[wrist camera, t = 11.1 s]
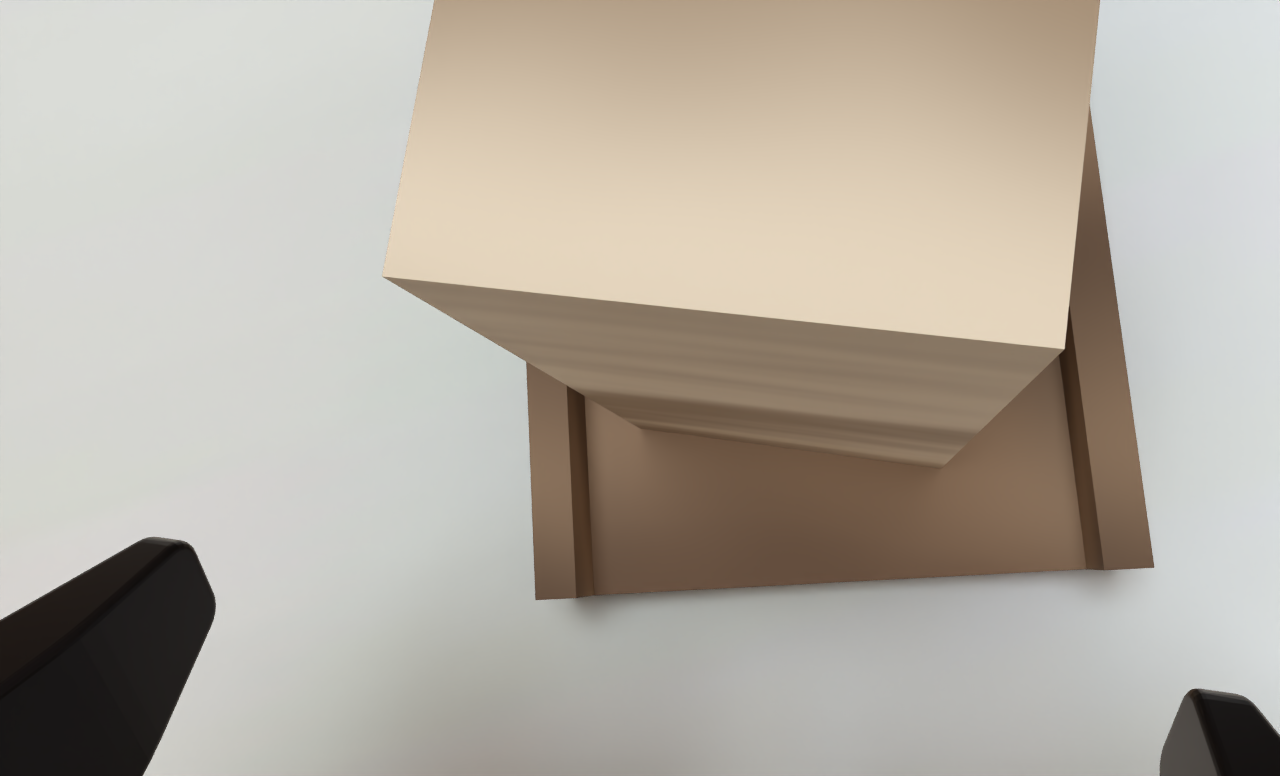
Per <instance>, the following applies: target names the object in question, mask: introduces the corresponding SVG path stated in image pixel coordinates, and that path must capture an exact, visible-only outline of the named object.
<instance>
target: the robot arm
mask: <svg viewBox="0 0 1280 776" xmlns="http://www.w3.org/2000/svg"><path fill="white" fill-rule="evenodd" d="M215 609H216V602H215V596H214V593H213V591H212V589H211V586H210V584H209V582H208V579H207V577H206V575H205V572H204V570H203V568H202V566H201V563H200V561H199V559H198V556H197V554H196V552H195V550H194V548H193V547H192V546H191V545H190V544H188V543H187V542H185V541H181V540H174V539H167V538H161V537H149V538H145V539H142V540H140V541H138V542H136V543H135V544H133V545H131V546H129V547H128V548H126V549H124V550H122V551H121V552H119V553H117V554H115V555H113V556H112V557H110V558H108V559H106V560H105V561H103V562H101V563H99V564H98V565H96V566H94V567H92V568H91V569H89V570H87V571H85V572H84V573H82V574H80V575H78V576H77V577H75V578H73V579H71V580H70V581H68V582H66V583H64V584H63V585H61V586H59V587H57V588H56V589H54V590H52V591H50V592H49V593H47V594H45V595H43V596H42V597H40V598H38V599H36V600H35V601H33V602H31V603H29V604H28V605H26V606H24V607H22V608H21V609H19V610H17V611H15V612H14V613H12V614H10V615H8V616H7V617H5V618H3V619H1V620H0V776H143V774H144V772H145V770H146V769H147V767H148V765H149V763H150V761H151V759H152V757H153V755H154V753H155V750H156V748H157V746H158V744H159V742H160V740H161V738H162V736H163V733H164V731H165V729H166V727H167V724H168V722H169V720H170V718H171V715H172V713H173V711H174V709H175V706H176V704H177V702H178V700H179V697H180V695H181V693H182V691H183V688H184V686H185V684H186V682H187V679H188V677H189V675H190V673H191V670H192V668H193V666H194V664H195V661H196V659H197V657H198V655H199V652H200V650H201V648H202V645H203V643H204V641H205V639H206V636H207V634H208V632H209V630H210V627H211V625H212V622H213V620H214V615H215ZM1160 776H1280V735H1279V734H1278V733H1277V731H1276V730H1275V729H1274V728H1273V726H1272V725H1271V724H1270V723H1269V721H1268V720H1267V719H1266V718H1265V716H1264V715H1263V714H1262V713H1261V712H1260V710H1259V709H1258V708H1257V707H1256V706H1255V704H1254V703H1252V702H1251V701H1250V700H1249V699H1247V698H1246V697H1244V696H1241V695H1238V694H1233V693H1226V692H1219V691H1212V690H1205V689H1192V690H1190V691H1189V692H1188V693H1187V694H1186V695H1185V696H1184V698H1183V700H1182V702H1181V705H1180V707H1179V710H1178V712H1177V715H1176V717H1175V719H1174V722H1173V724H1172V727H1171V729H1170V732H1169V734H1168V737H1167V739H1166V741H1165V744H1164V747H1163V750H1162V754H1161V760H1160Z"/></svg>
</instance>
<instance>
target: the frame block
mask: <svg viewBox="0 0 1280 776" xmlns="http://www.w3.org/2000/svg"><path fill="white" fill-rule="evenodd" d="M1099 5H1100V0H434V5H433V10H432V16H431V21H430V26H429V31H428V37H427V42H426V47H425V52H424V58H423V63H422V68H421V74H420V79H419V84H418V89H417V95H416V100H415V105H414V111H413V116H412V121H411V126H410V132H409V137H408V142H407V147H406V153H405V158H404V163H403V169H402V174H401V179H400V184H399V190H398V195H397V200H396V206H395V211H394V216H393V221H392V227H391V232H390V237H389V243H388V248H387V253H386V258H385V264H384V269H383V274H382V277H384V278H386V279H387V280H389V281H391V282H392V283H394V284H396V285H398V286H399V287H401V288H403V289H404V290H406V291H408V292H409V293H411V294H413V295H414V296H416V297H418V298H420V299H421V300H423V301H425V302H426V303H428V304H430V305H431V306H433V307H435V308H437V309H438V310H440V311H442V312H443V313H445V314H447V315H448V316H450V317H452V318H453V319H455V320H457V321H459V322H460V323H462V324H464V325H465V326H467V327H469V328H470V329H472V330H474V331H476V332H477V333H479V334H481V335H482V336H484V337H486V338H487V339H489V340H491V341H492V342H494V343H496V344H498V345H499V346H501V347H503V348H504V349H506V350H508V351H509V352H511V353H513V354H514V355H516V356H518V357H520V358H521V359H523V360H525V361H526V362H528V363H530V364H531V365H533V366H535V367H537V368H538V369H540V370H542V371H543V372H545V373H547V374H548V375H550V376H552V377H553V378H555V379H557V380H559V381H560V382H562V383H564V384H565V385H567V386H569V387H570V388H572V389H574V390H576V391H577V392H579V393H581V394H582V395H584V396H586V397H587V398H589V399H591V400H592V401H594V402H596V403H598V404H599V405H601V406H603V407H604V408H606V409H608V410H609V411H611V412H613V413H615V414H616V415H618V416H620V417H621V418H623V419H625V420H626V421H628V422H630V423H631V424H633V425H635V426H637V427H638V428H640V429H648V430H655V431H663V432H670V433H678V434H685V435H692V436H700V437H707V438H715V439H722V440H730V441H737V442H745V443H752V444H760V445H767V446H775V447H782V448H789V449H797V450H804V451H812V452H819V453H827V454H834V455H842V456H849V457H857V458H864V459H871V460H879V461H886V462H894V463H901V464H909V465H916V466H924V467H931V468H939V469H941V468H942V467H943V466H944V465H945V464H946V463H947V462H949V461H950V460H951V459H952V458H953V457H954V456H955V455H956V454H957V453H958V452H959V451H960V450H961V449H962V448H963V447H964V446H965V445H966V444H967V443H968V442H969V441H970V440H971V439H972V438H973V437H974V436H975V435H976V434H977V433H978V432H980V431H981V430H982V429H983V428H984V427H985V426H986V425H987V424H988V423H989V422H990V421H991V420H992V419H993V418H994V417H995V416H996V415H997V414H998V413H999V412H1000V411H1001V410H1002V409H1003V408H1004V407H1005V406H1006V405H1007V404H1008V403H1009V402H1010V401H1012V400H1013V399H1014V398H1015V397H1016V396H1017V395H1018V394H1019V393H1020V392H1021V391H1022V390H1023V389H1024V388H1025V387H1026V386H1027V385H1028V384H1029V383H1030V382H1031V381H1032V380H1033V379H1034V378H1035V377H1036V376H1037V375H1038V374H1039V373H1040V372H1041V371H1043V370H1044V369H1045V368H1046V367H1047V366H1048V365H1049V364H1050V363H1051V362H1052V361H1053V360H1054V359H1055V358H1056V357H1057V356H1058V355H1059V354H1060V353H1061V352H1062V351H1063V350H1064V349H1065V339H1066V330H1067V320H1068V310H1069V300H1070V290H1071V280H1072V271H1073V261H1074V251H1075V241H1076V231H1077V221H1078V212H1079V202H1080V192H1081V182H1082V172H1083V162H1084V153H1085V143H1086V133H1087V123H1088V113H1089V104H1090V94H1091V84H1092V74H1093V64H1094V54H1095V45H1096V35H1097V25H1098V15H1099Z"/></svg>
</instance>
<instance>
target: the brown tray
mask: <svg viewBox="0 0 1280 776" xmlns="http://www.w3.org/2000/svg"><path fill="white" fill-rule="evenodd" d="M526 365H527V390H528V416H529V442H530V468H531V494H532V519H533V545H534V571H535V597H536V600H546V599H565V598H579V597H585V596H592V595H605V594H624V593H643V592H662V591H681V590H700V589H719V588H738V587H756V586H775V585H794V584H813V583H832V582H851V581H870V580H889V579H908V578H927V577H946V576H965V575H984V574H1003V573H1021V572H1040V571H1059V570H1078V569H1094V570H1118V569H1137V568H1154V562H1153V555H1152V548H1151V541H1150V533H1149V526H1148V519H1147V512H1146V505H1145V498H1144V490H1143V483H1142V476H1141V469H1140V462H1139V455H1138V448H1137V440H1136V433H1135V426H1134V419H1133V412H1132V405H1131V397H1130V390H1129V383H1128V376H1127V369H1126V362H1125V355H1124V347H1123V340H1122V333H1121V326H1120V319H1119V312H1118V304H1117V297H1116V290H1115V283H1114V276H1113V269H1112V262H1111V254H1110V247H1109V240H1108V233H1107V226H1106V219H1105V212H1104V204H1103V197H1102V190H1101V183H1100V176H1099V169H1098V161H1097V154H1096V147H1095V140H1094V133H1093V126H1092V119H1091V111H1090V104H1089V113H1088V123H1087V133H1086V143H1085V153H1084V162H1083V172H1082V182H1081V192H1080V202H1079V212H1078V221H1077V231H1076V241H1075V251H1074V261H1073V271H1072V280H1071V290H1070V300H1069V310H1068V320H1067V330H1066V339H1065V349H1064V350H1063V351H1062V352H1061V353H1060V354H1059V355H1058V356H1057V357H1056V358H1055V359H1054V360H1053V361H1052V362H1051V363H1050V364H1049V365H1048V366H1047V367H1046V368H1045V369H1044V370H1043V371H1041V372H1040V373H1039V374H1038V375H1037V376H1036V377H1035V378H1034V379H1033V380H1032V381H1031V382H1030V383H1029V384H1028V385H1027V386H1026V387H1025V388H1024V389H1023V390H1022V391H1021V392H1020V393H1019V394H1018V395H1017V396H1016V397H1015V398H1014V399H1013V400H1012V401H1010V402H1009V403H1008V404H1007V405H1006V406H1005V407H1004V408H1003V409H1002V410H1001V411H1000V412H999V413H998V414H997V415H996V416H995V417H994V418H993V419H992V420H991V421H990V422H989V423H988V424H987V425H986V426H985V427H984V428H983V429H982V430H981V431H980V432H978V433H977V434H976V435H975V436H974V437H973V438H972V439H971V440H970V441H969V442H968V443H967V444H966V445H965V446H964V447H963V448H962V449H961V450H960V451H959V452H958V453H957V454H956V455H955V456H954V457H953V458H952V459H951V460H950V461H949V462H947V463H946V464H945V465H944V466H943V467H942V468H941V469H939V468H931V467H924V466H916V465H909V464H901V463H894V462H886V461H879V460H871V459H864V458H857V457H849V456H842V455H834V454H827V453H819V452H812V451H804V450H797V449H789V448H782V447H775V446H767V445H760V444H752V443H745V442H737V441H730V440H722V439H715V438H707V437H700V436H692V435H685V434H678V433H670V432H663V431H655V430H648V429H640V428H638V427H637V426H635V425H633V424H631V423H630V422H628V421H626V420H625V419H623V418H621V417H620V416H618V415H616V414H615V413H613V412H611V411H609V410H608V409H606V408H604V407H603V406H601V405H599V404H598V403H596V402H594V401H592V400H591V399H589V398H587V397H586V396H584V395H582V394H581V393H579V392H577V391H576V390H574V389H572V388H570V387H569V386H567V385H565V384H564V383H562V382H560V381H559V380H557V379H555V378H553V377H552V376H550V375H548V374H547V373H545V372H543V371H542V370H540V369H538V368H537V367H535V366H533V365H531V364H530V363H528V362H526Z"/></svg>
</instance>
